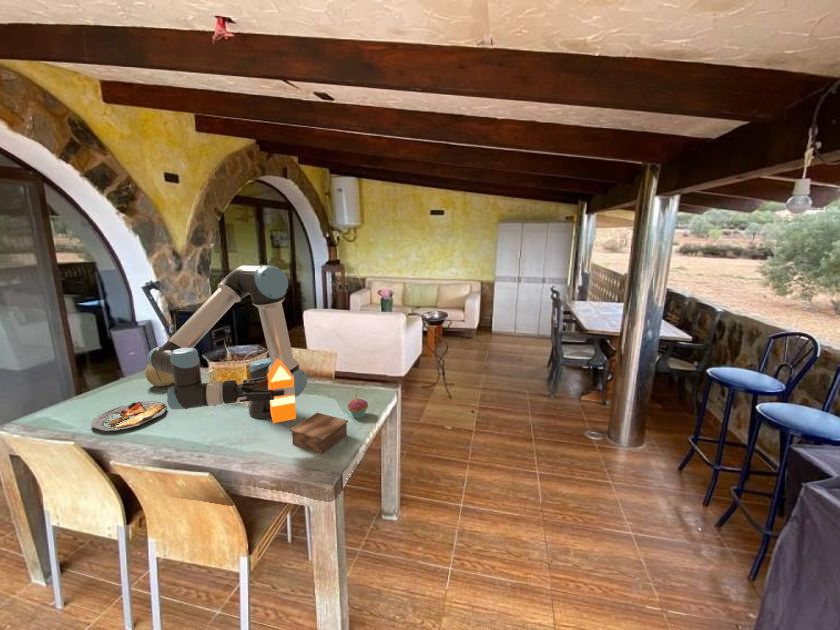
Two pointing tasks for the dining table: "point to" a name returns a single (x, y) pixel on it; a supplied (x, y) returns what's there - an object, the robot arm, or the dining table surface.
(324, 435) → the walnut riser
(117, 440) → the dining table surface
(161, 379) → the cantaloupe
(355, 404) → the cupcake
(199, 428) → the dining table surface
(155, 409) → the food plate
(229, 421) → the dining table surface
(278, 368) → the orange juice
